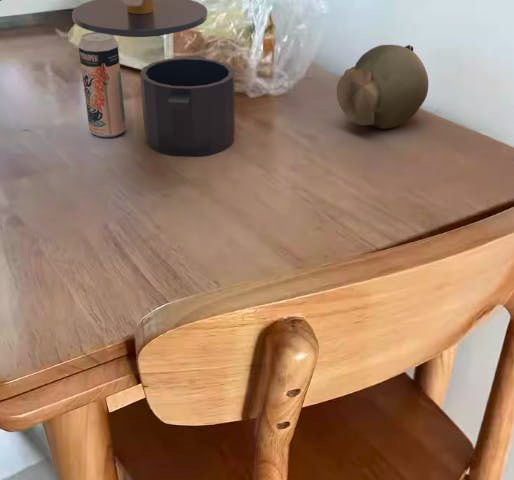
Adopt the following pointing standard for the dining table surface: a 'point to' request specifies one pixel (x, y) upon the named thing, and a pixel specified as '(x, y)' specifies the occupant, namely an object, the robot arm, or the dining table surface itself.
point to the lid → (139, 17)
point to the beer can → (102, 84)
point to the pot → (188, 106)
